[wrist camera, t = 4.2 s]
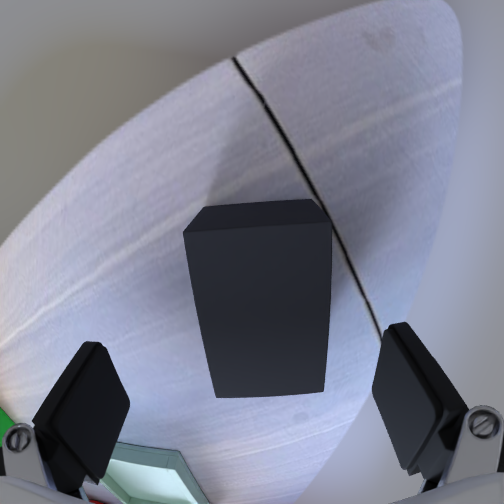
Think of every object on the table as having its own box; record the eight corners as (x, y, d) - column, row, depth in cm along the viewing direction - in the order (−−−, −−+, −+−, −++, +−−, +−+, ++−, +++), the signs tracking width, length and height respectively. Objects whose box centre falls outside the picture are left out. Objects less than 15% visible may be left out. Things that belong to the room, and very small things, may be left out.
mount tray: (179, 450, 21) (175, 469, 19) (211, 506, 26) (210, 519, 24) (73, 431, 22) (66, 446, 20) (128, 494, 27) (125, 505, 25)
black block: (312, 198, 13) (332, 220, 10) (312, 341, 16) (323, 392, 12) (203, 206, 14) (182, 231, 10) (223, 347, 16) (215, 398, 13)
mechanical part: (-21, 398, 23) (-47, 433, 15) (-7, 399, 22) (-36, 440, 14) (32, 454, 27) (13, 490, 19) (52, 459, 26) (33, 500, 18)
